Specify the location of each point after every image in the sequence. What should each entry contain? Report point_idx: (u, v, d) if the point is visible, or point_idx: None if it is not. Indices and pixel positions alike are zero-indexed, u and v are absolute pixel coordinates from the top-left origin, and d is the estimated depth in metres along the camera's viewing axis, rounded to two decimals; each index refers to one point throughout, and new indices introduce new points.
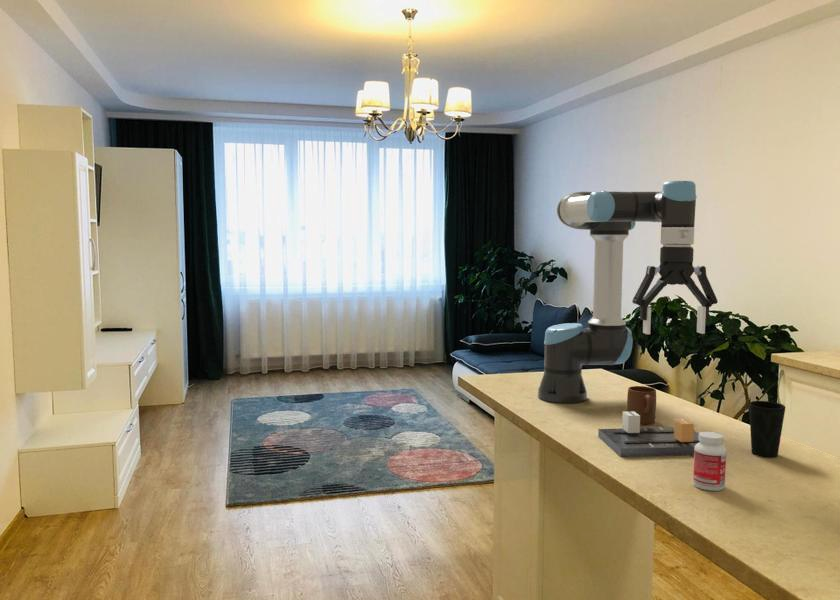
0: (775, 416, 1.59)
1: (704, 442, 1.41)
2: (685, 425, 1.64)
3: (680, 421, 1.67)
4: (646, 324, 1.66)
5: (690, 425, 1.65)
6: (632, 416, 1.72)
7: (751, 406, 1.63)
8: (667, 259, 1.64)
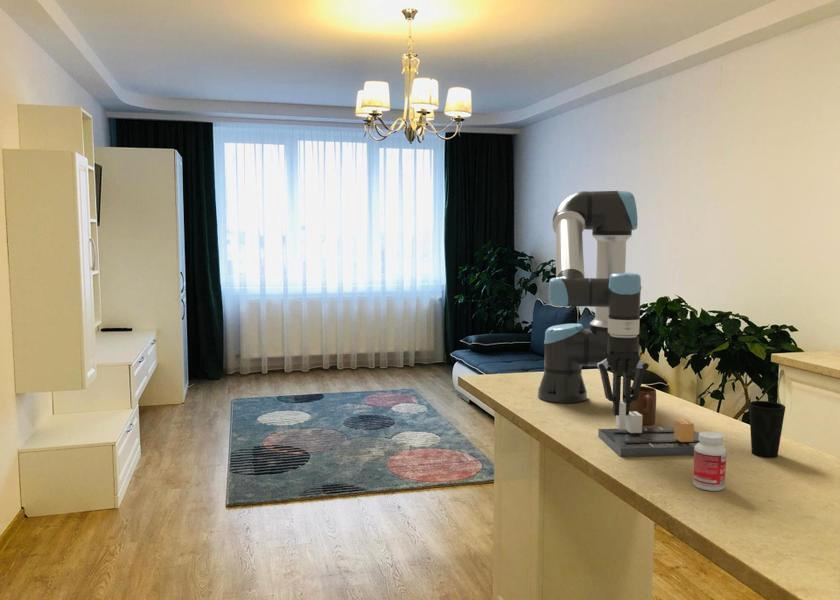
0: (775, 416, 1.59)
1: (704, 442, 1.41)
2: (685, 425, 1.64)
3: (680, 421, 1.67)
4: (619, 419, 1.73)
5: (690, 425, 1.65)
6: (634, 416, 1.72)
7: (751, 406, 1.63)
8: (613, 349, 1.70)
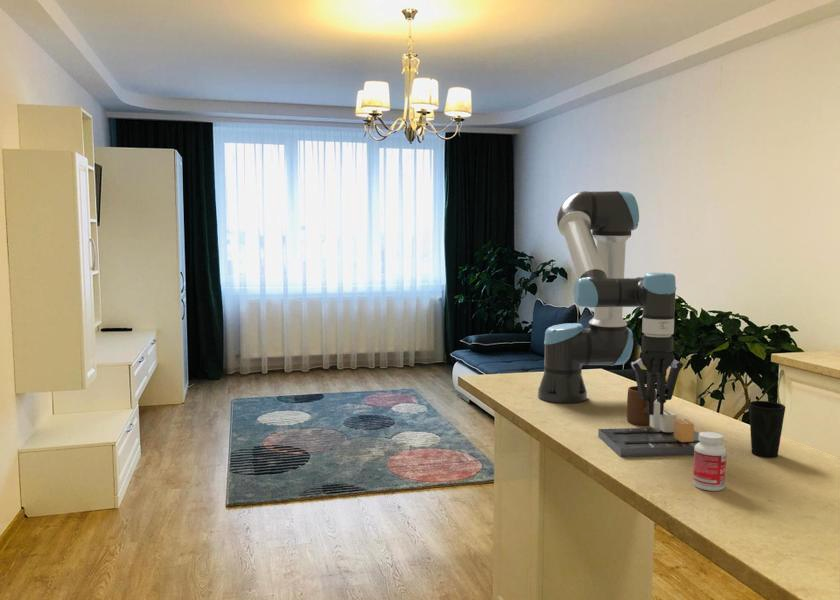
0: (775, 416, 1.59)
1: (704, 442, 1.41)
2: (685, 425, 1.64)
3: (680, 421, 1.67)
4: (653, 418, 1.73)
5: (690, 425, 1.65)
6: (669, 415, 1.72)
7: (751, 406, 1.63)
8: (648, 348, 1.70)
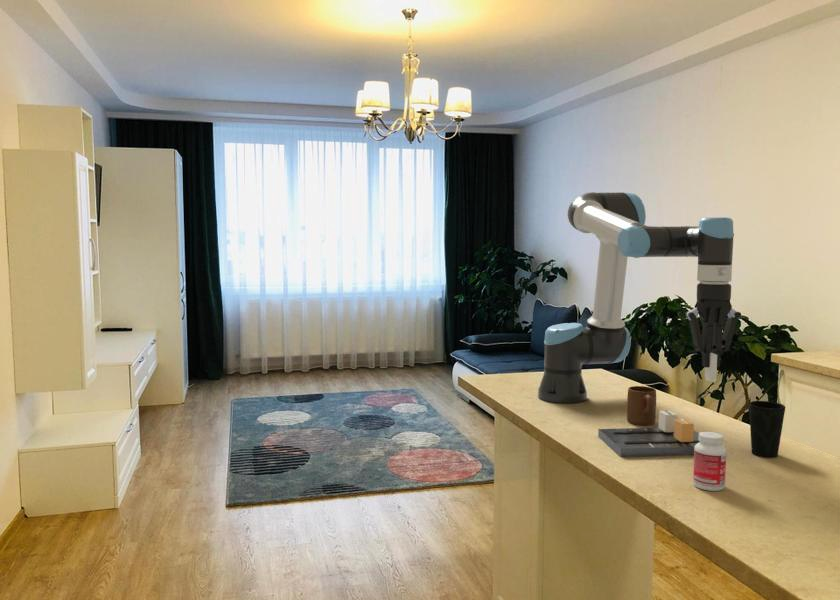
0: (775, 416, 1.59)
1: (704, 442, 1.41)
2: (685, 425, 1.64)
3: (680, 421, 1.67)
4: (709, 371, 1.65)
5: (690, 425, 1.65)
6: (669, 415, 1.72)
7: (751, 406, 1.63)
8: (705, 296, 1.62)
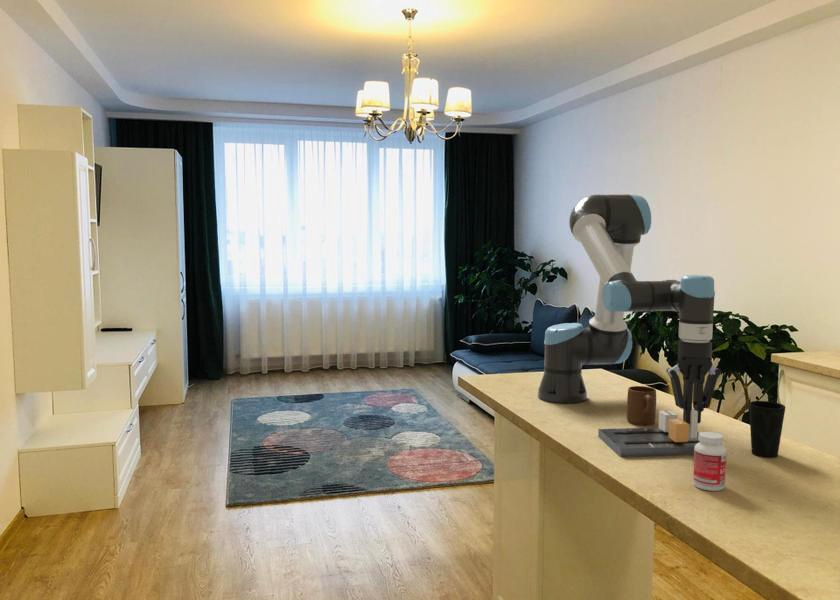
0: (775, 416, 1.59)
1: (704, 442, 1.41)
2: (679, 425, 1.64)
3: (675, 421, 1.66)
4: (690, 427, 1.66)
5: (684, 425, 1.64)
6: (669, 415, 1.72)
7: (751, 406, 1.63)
8: (686, 354, 1.63)
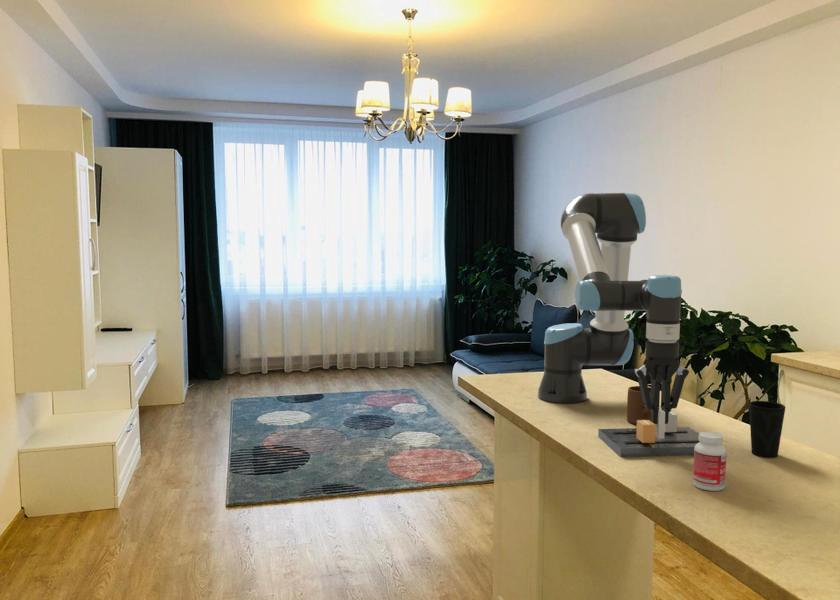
0: (775, 416, 1.59)
1: (704, 442, 1.41)
2: (647, 426, 1.64)
3: (642, 422, 1.66)
4: (657, 428, 1.65)
5: (652, 426, 1.64)
6: (669, 415, 1.72)
7: (751, 406, 1.63)
8: (653, 354, 1.62)
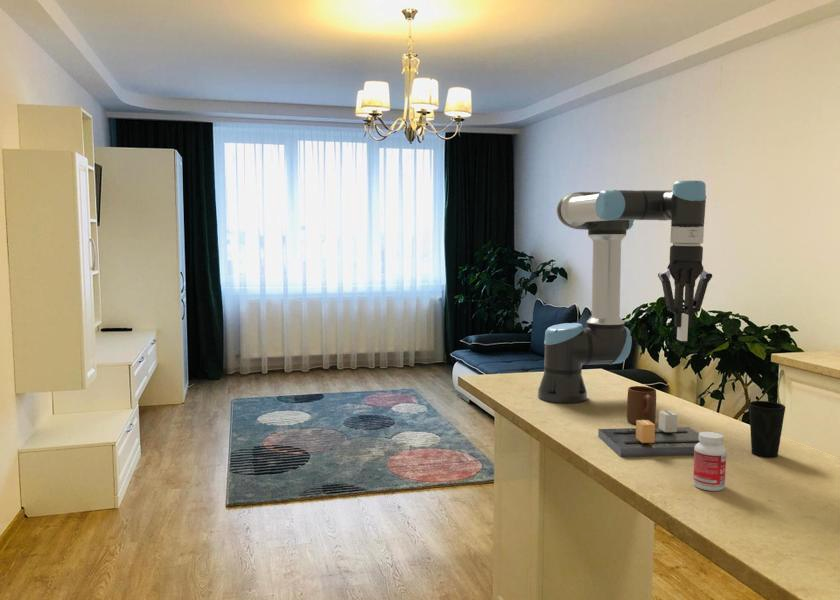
0: (775, 416, 1.59)
1: (704, 442, 1.41)
2: (646, 426, 1.64)
3: (641, 422, 1.66)
4: (680, 331, 1.70)
5: (651, 426, 1.64)
6: (669, 415, 1.72)
7: (751, 406, 1.63)
8: (677, 258, 1.66)
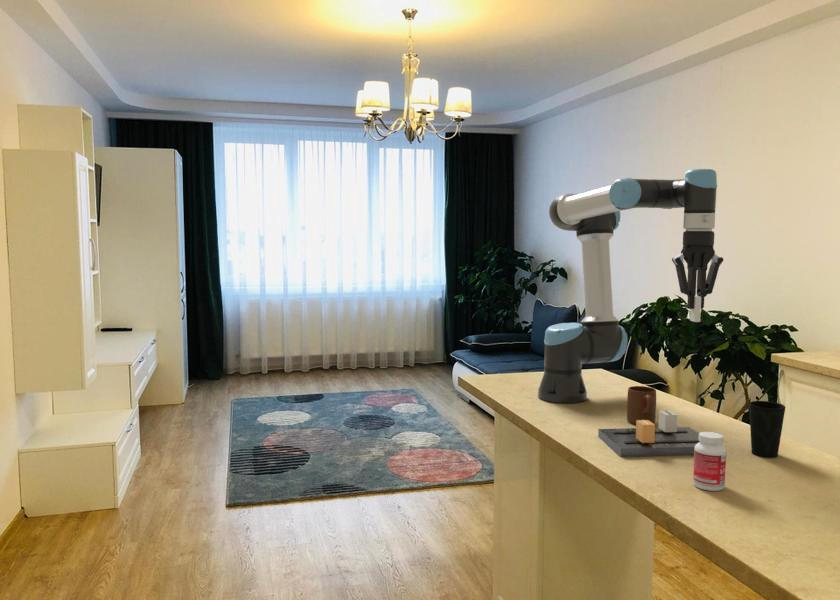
0: (775, 416, 1.59)
1: (704, 442, 1.41)
2: (646, 426, 1.64)
3: (641, 422, 1.66)
4: (694, 312, 1.78)
5: (651, 426, 1.64)
6: (669, 415, 1.72)
7: (751, 406, 1.63)
8: (690, 242, 1.75)
